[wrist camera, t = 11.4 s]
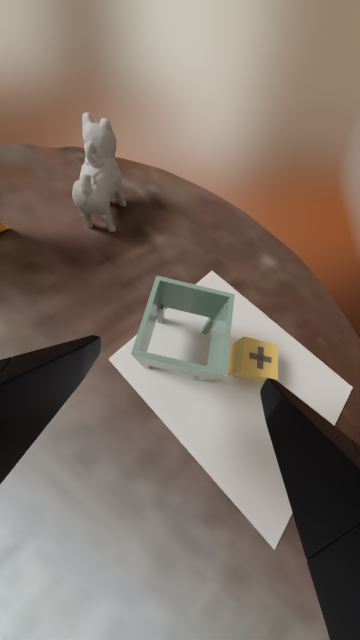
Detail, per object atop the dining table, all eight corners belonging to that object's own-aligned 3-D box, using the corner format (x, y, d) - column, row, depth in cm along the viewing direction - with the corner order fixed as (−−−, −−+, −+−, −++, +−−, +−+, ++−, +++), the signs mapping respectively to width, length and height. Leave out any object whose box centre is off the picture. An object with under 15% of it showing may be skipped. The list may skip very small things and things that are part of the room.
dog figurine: (132, 190, 33) (119, 107, 24) (115, 238, 29) (90, 158, 19) (105, 185, 33) (80, 99, 23) (82, 232, 28) (40, 149, 18)
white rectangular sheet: (349, 387, 23) (352, 387, 23) (272, 546, 16) (274, 549, 16) (211, 272, 28) (211, 270, 27) (109, 359, 21) (108, 359, 21)
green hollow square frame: (199, 381, 21) (225, 376, 12) (144, 368, 21) (130, 354, 12) (207, 328, 24) (234, 294, 15) (158, 317, 24) (156, 275, 15)
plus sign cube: (258, 381, 22) (278, 380, 18) (227, 374, 22) (241, 371, 18) (259, 351, 23) (278, 344, 19) (230, 344, 23) (244, 336, 19)
